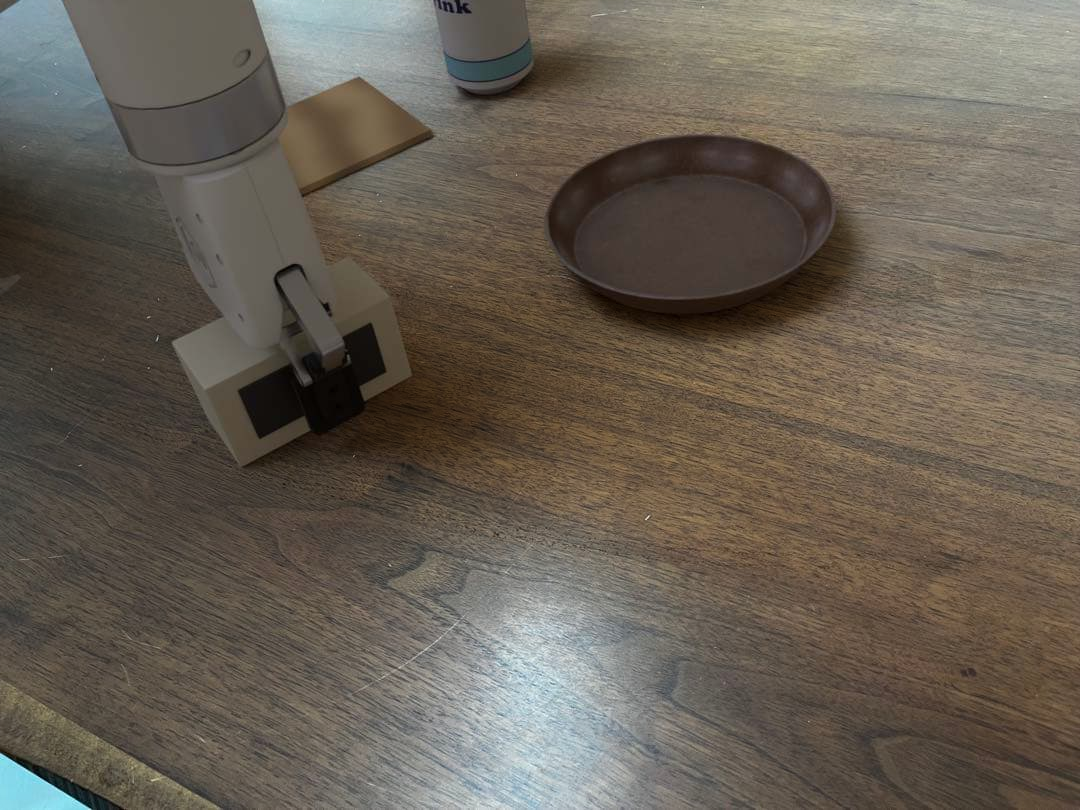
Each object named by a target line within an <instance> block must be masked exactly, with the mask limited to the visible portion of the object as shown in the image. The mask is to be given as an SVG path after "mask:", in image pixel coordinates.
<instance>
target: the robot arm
mask: <svg viewBox="0 0 1080 810" xmlns="http://www.w3.org/2000/svg"><path fill="white" fill-rule="evenodd" d="M20 1H21V0H0V14H2V13H4V12H5V11H6V10H8V9H10V8H11V7H12V6H14V5H16V4H17V3H20ZM61 2H62V5H63V7H64V9H65V11H66V14H67V15H68V18H69V21H70V22H71V25H72V27H73V29H74V32H75V33H76V34H75V35H76V36H77V38H78V41H79V43H80V45H81V48H82V50H83V52H84V55H85V56H86V59H87V61H88V64H89V66H90V69H91V71H92V72H93V74H94V77H95V79H96V82H97V84H98V86H99V88H100V90H101V92H102V94H103V97H104V99H105V102H106V103H107V107H108V108H109V110H110V113H111V115H112V117H113V120H114V121H115V124H116V126H117V128H118V131H119V133H120V135H121V138H122V140H123V142H124V144H125V147H126V150H127V151H128V154H129V156H130V158H131V160H132V162H133V163H134V164H135V166H137V167H138V168H139V169H141V170H143V171H145V172H149V173H152V174H154V177H155V180H156V183H157V185H158V188H159V191H160V193H161V196H162V199H163V201H164V204H165V206H166V209H167V212H168V214H169V217H170V219H171V222H172V224H173V227H174V230H175V232H176V234H177V237H178V241H179V242H180V245H181V247H182V250H183V253H184V256H185V259H186V260H187V263H188V266H189V268H190V270H191V272H192V274H193V276H194V278H195V279H196V281H197V283H198V284H199V286H200V288H202V289H203V291H204V292H205V294H206V295H207V296H208V298H210V300H211V302H212V303H213V304H214V305H215V306H216V308H217V309H218V310H219V311H220V313H221V314H222V316H223V317H225V318H226V319H227V320H228V322H229V323H230V324H231V325H232V327H233V328H234V329H235V330H236V332H237V333H238V334H239V335H240V336H241V338H242V339H243V340H244V341H245V342H246V343H247V344H248V345H249V346H250V347H252V348H254V349H257V350H260V351H265V350H267V349H268V347H271V346H273V345H275V344H277V343H278V344H279V346H280V348H281V349H282V351H283V353H284V355H285V357H286V359H287V361H288V363H289V364H290V366H291V368H292V370H293V372H294V374H295V377H294V378H292V379H290V380H291V383H292V385H293V388H294V390H295V393H296V395H297V398H298V400H299V403H300V405H301V408H302V411H303V413H304V416H305V418H306V421H307V423H308V426H309V428H310V431H311V432H312V433H313V435H314V436H317V437H318V436H322V435H324V434H325V433H328V432H330V431H332V430H333V429H335V428H337V427H339V426H341V425H342V424H344V423H346V422H348V421H350V420H351V419H353V418H355V417H357V416H359V415H361V414H363V413H364V412H365V410H366V407H367V406H366V401H364V399H363V396H362V393H361V390H360V387H359V384H358V381H357V378H356V375H355V372H354V369H353V366H352V363H351V359H350V356H349V354H348V352H347V350H346V347H345V343H344V341H343V338H342V336H341V335H340V333H339V331H338V330H337V328H336V327H335V325H334V323H333V322H332V320H331V319H330V317H333V315H334V313H335V311H336V308H337V300H336V295H335V291H334V287H333V284H332V280H331V277H330V274H329V270H328V264H327V261H326V259H325V255H324V254H323V250H322V247H321V244H320V241H319V239H318V236H317V233H316V231H315V227H314V225H313V222H312V219H311V217H310V215H309V212H308V208H307V206H306V204H305V201H304V199H303V195H302V196H301V193H300V191H299V188H298V186H297V183H296V178H295V176H294V174H293V173H292V171H291V168H290V166H289V164H288V161H287V159H286V156H285V154H284V151H283V149H282V147H281V144H280V142H279V139H278V137H279V136H280V135H281V133H282V132H283V131H284V129H285V127H286V125H287V122H288V119H289V113H288V109H287V106H288V105H287V103H286V101H285V100H286V99H285V96H284V93H283V90H282V87H281V83H280V81H279V77H278V74H277V72H276V69H275V65H274V62H273V59H272V56H271V52H270V50H269V46H268V44H267V41H266V38H265V34H264V32H263V28H262V25H261V22H260V19H259V16H258V13H257V9H256V6H255V2H254V0H61ZM289 309H290V311H291V312H292V314H293V316H294V317H295V319H296V321H294V322H292V323H290V324H288V325H286V326H284V327H282V320H283V312H285V311H287V310H289ZM302 331H303V332H304V333H305V335H306V337H307V338H308V341H309V343H310V348H311V350H312V353H310V354H308V355H307V356H306V358H305V359H304V361H303V359H302V358H301V356H300V354H299V352H298V350H297V348H296V346H295V344H294V342H293V341H292V339H291V337H292V336H294V335H296V334H298V333H300V332H302Z"/></svg>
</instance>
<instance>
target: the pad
mask: <svg viewBox="0 0 1080 810" xmlns="http://www.w3.org/2000/svg"><path fill="white" fill-rule="evenodd" d="M286 106H287V109H288V113H289V119H288V122H287V125H286V127H285V129H284V131H283V132H282V133H281V135H280V136H279V137H278V139H279V142H280V144H281V147H282V149H283V151H284V154H285V156H286V159H287V161H288V164H289V166H290V168H291V171H292V173H293V174H294V176H295V178H296V183H297V186H298V188H299V191H300V193H301V196H302V197H303V196H304V195H306V194H308V193H311V192H313V191H315V190H317V189H320V188H322V187H324V186H326V185H328V184H331V183H333V182H335V181H338V180H339V179H341V178H344V177H345V176H349V175H350V174H353V173H354V172H357V171H360V170H362V169H364V168H366V167H368V166H370V165H373V164H374V163H377V162H379V161H381V160H383V159H386V158H388V157H390V156H392V155H395V154H396V153H399V152H402V151H403V150H405V149H408V148H410V147H412V146H415V145H416V144H419V143H421V142H423V141H426V140H427V139H429V138H431V137H433V132H432V129H431V128H430V127H429V126H427V125H425V123H423V122H421V121H420V120H419V119H417V117H415V116H414V115H412V114H410V113H409V112H408V111H407V110H406V109H404V108H402V106H400V105H398V103H396V102H395V101H394V100H392V99H391V98H389V97H388V96H387V95H386V94H384V93H382V92H381V91H380V90H379V89H377V88H376V87H374V85H372V84H370V83H369V82H368V81H366V80H365V79H364V78H362V77H361V76H357V77H353V78H352V79H349V80H347V81H344V82H342V83H340V84H337V85H335V86H332V87H330V88H328V89H326V90H323V91H321V92H318V93H316V94H313V95H312V96H309V97H307V98H304V99H302V100H299V101H297V102H295V103H292V104H289V105H286Z"/></svg>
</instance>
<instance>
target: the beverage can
mask: <svg viewBox="0 0 1080 810" xmlns="http://www.w3.org/2000/svg"><path fill="white" fill-rule="evenodd" d="M432 3H433V7H434V11H435V17H436V22H437V26H438V31H439V36H440V37H439V38H440V41H441V47H442V51H443V57H444V62H445V66H446V71H447V77H448V78H449V81H450V82H451V83H453V84H454V85H455V86H457V87H459V88H463V89H465V90H466V91H468V92H470V93H471V94H476V95H481V96H482V95H483V96H485V95H496V94H500V93H504V92H507V91H509V90H510V89H513V88H514V87H516V86H517V85H518V84H520V82H521V81H522V79H523V78H525V77H526V76H527V75H528V74H530V72H531V71H532V69H533V67H534V55H533V49H532V41H531V33H530V27H529V19H528V13H527V12H528V11H527V6H526V0H432Z"/></svg>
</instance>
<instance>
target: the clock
mask: <svg viewBox="0 0 1080 810" xmlns="http://www.w3.org/2000/svg"><path fill="white" fill-rule="evenodd" d="M327 267H328V270H329V274H330V277H331V280H332V284H333V287H334V291H335V295H336V300H337V308H336V311H335V313H334V315H333V317H330V319H331V320H332V322H333V323H334V325H335V327H336V328H337V330H338V331H339V333H340V335H341V336H342V338H343V341H344V343H345V347H346V350H347V352H348V354H349V356H350V359H351V363H352V366H353V369H354V372H355V375H356V378H357V381H358V384H359V387H360V390H361V393H362V396H363V399H364V402H366V401H369V400H370V399H372V398H373V397H376V396H378V395H379V394H381V393H383V392H385V391H388V389H391V388H392V387H395V386H396V385H398V384H400V383H402V382H404V381H405V380H407V379H409V378H411V377H413V373H412V370H411V365H410V362H409V359H408V356H407V352H406V348H405V345H404V341H403V337H402V334H401V330H400V326H399V324H398V319H397V316H396V312H395V310H394V309H395V308H394V305H393V301H392V298H391V296H390V295H389V294H388V292H386V291H385V290H384V289H383V288H382V287H381V286H380V285H379V284H378V283H377V281H375V280H374V279H373V278H372V277H371V276H370V275H369V274H368V273H367V272H366V271H365V270H364V269H363V268H362V267H361V266H360V265H359V264H358V263H357V262H356V261H355V260H354V259H353V258H352V257H351V256H347V257H345V258H343V259H340V260H338V261H336V262H334V263H332V264H330V265H327ZM294 321H296V319H295V317H294V316H293V314H292V312H291V311H290V309H289V310H287V311H285V312H283V320H282V327H284V326H286V325H288V324H290V323H292V322H294ZM291 339H292V341H293V342H294V344H295V346H296V348H297V350H298V352H299V354H300V356H301V358H302V359H303V361H304V359H305V358H306V356H307V355H308V354H310V353H312V350H311V348H310V343H309V341H308V338H307V337H306V335H305V333H304V332H303V331H302V332H300V333H298V334H296V335H294V336H292V337H291ZM171 345H172V347H173V350H174V351H175V353H176V355H177V358H178V360H179V362H180V364H181V366H182V368H183V371H184V373H185V374H186V376H187V379H188V381H189V383H190V385H191V387H192V389H193V391H194V393H195V394H196V397H197V399H198V401H199V403H200V405H201V408H202V409H203V412H204V414H205V416H206V418H207V420H208V422H209V423H210V424H211V426H212V428H213V429H214V430H215V431H216V433H217V435H218V436H219V438H220V439H221V441H222V442H223V444H224V446H225V447H226V448H227V449H228V451H229V453H230V454H231V455H232V457H233V458H234V459H235V461H236V463H237V464H238V465H239V467H240V468H243V467H245V466H246V465H249V464H250V463H252V462H254V461H256V460H259V459H260V458H262V457H264V456H266V455H267V454H269V453H271V452H273V451H274V450H275V451H276V449H278V448H280V447H283V446H284V445H286V444H288V443H290V442H291V441H293V440H296V439H297V438H300V437H301V436H303V435H305V434H306V433H308V432H310V431H311V430H310V428H309V426H308V423H307V421H306V418H305V416H304V413H303V411H302V408H301V405H300V403H299V400H298V398H297V395H296V393H295V390H294V388H293V385H292V383H291V380H290V379H292V378H294V377H295V374H294V372H293V370H292V368H291V366H290V364H289V363H288V361H287V359H286V357H285V355H284V353H283V351H282V349H281V348H280V346H279V344H278V343H277V344H275V345H273V346H271V347H268V349H267V350H265V351H260V350H257V349H254V348H252V347H250V346H249V345H248V344H247V343H246V342H245V341H244V340H243V339H242V338H241V336H240V335H239V334H238V333H237V332H236V330H235V329H234V328H233V327H232V325H231V324H230V323H229V322H228V320H227V319H226V318H225V317H224V316H222V317H220V318H218V319H216V320H214V321H212V322H210V323H208V324H205V325H204V326H203V325H202V326H201V327H200V328H199V327H198V328H197V329H195V330H193V331H191V332H189V333H186V334H185V335H182V336H181V337H179V338H176V339H174V340H172V341H171Z"/></svg>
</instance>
